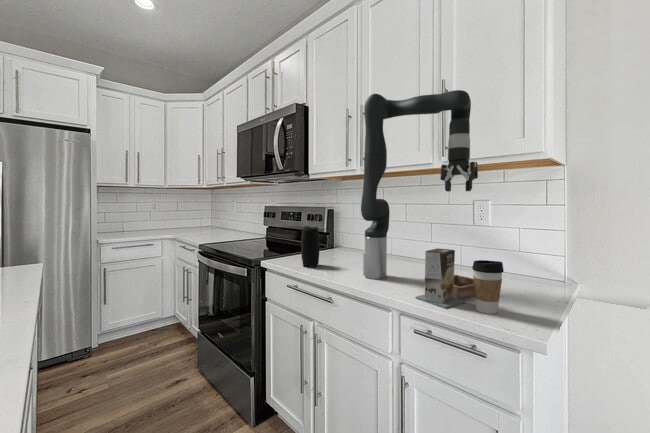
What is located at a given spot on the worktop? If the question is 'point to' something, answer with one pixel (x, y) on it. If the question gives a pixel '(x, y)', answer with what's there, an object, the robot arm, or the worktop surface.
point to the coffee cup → (487, 285)
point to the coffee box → (439, 275)
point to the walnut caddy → (463, 287)
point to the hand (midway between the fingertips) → (458, 191)
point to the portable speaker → (310, 246)
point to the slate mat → (446, 304)
